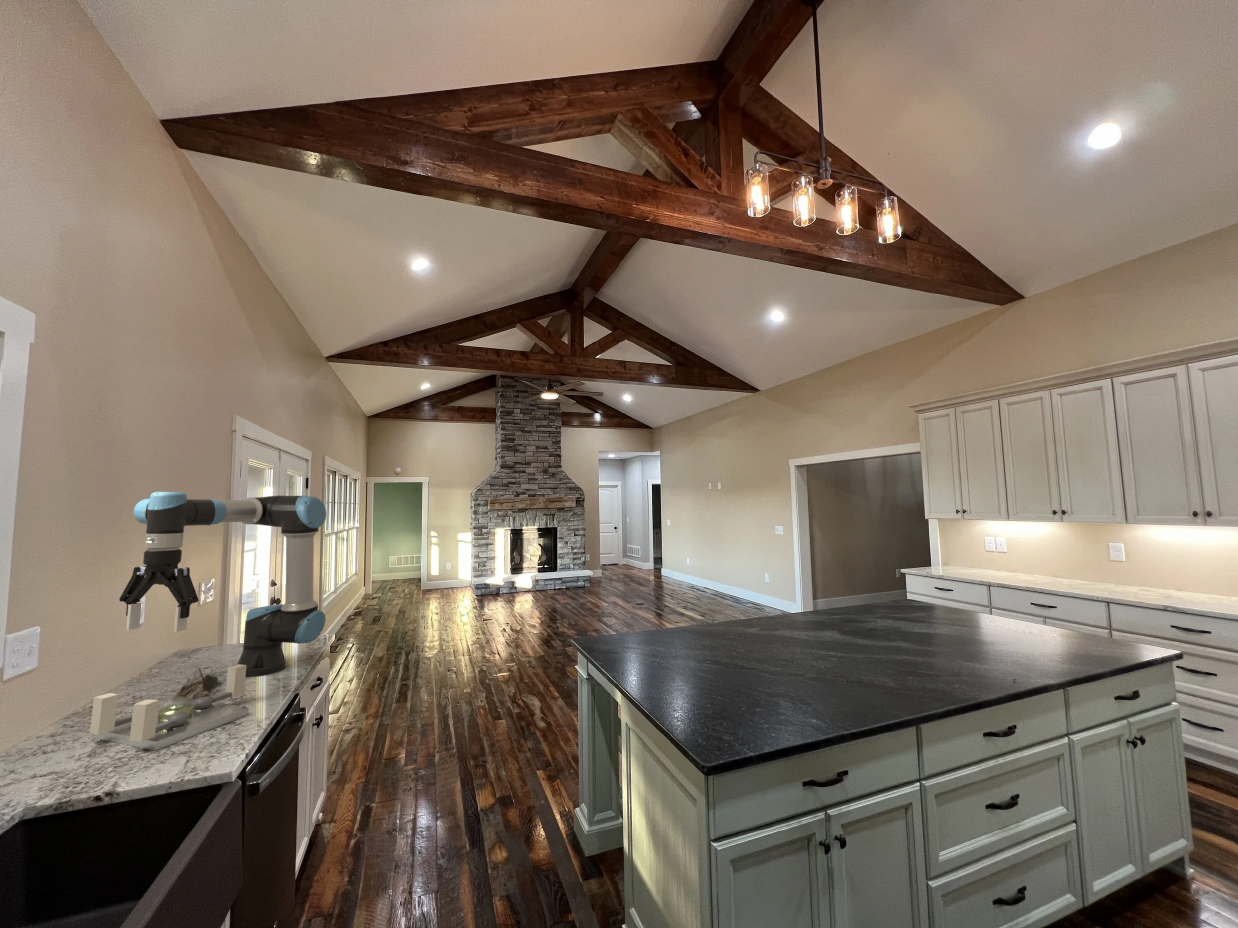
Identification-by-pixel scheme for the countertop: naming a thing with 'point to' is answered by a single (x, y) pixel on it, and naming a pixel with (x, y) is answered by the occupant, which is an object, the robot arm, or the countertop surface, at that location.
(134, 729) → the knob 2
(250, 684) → the countertop surface
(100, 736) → the level plate
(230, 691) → the gray lever with block
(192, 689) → the rock
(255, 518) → the robot arm
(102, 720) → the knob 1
